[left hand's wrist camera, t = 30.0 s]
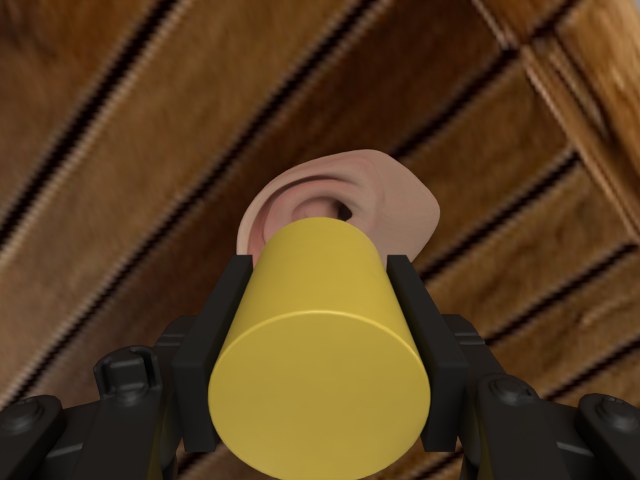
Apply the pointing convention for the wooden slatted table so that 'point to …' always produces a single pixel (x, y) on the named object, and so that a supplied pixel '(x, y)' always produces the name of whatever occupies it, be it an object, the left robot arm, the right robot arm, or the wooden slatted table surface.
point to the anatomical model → (346, 203)
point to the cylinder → (319, 361)
